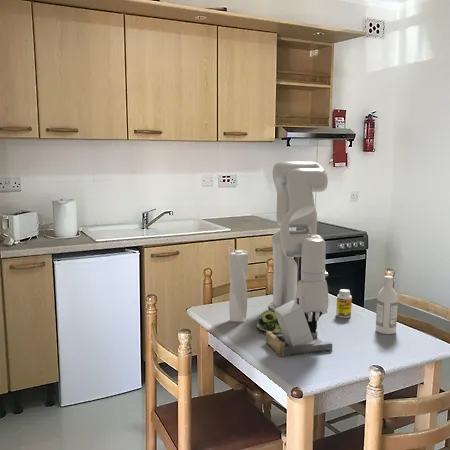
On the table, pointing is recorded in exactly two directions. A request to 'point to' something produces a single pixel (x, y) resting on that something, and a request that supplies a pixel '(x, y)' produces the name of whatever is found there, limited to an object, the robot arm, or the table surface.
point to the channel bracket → (283, 348)
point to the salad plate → (269, 323)
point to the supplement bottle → (344, 303)
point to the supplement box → (293, 324)
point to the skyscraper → (238, 285)
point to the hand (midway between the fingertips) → (311, 331)
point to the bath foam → (387, 308)
